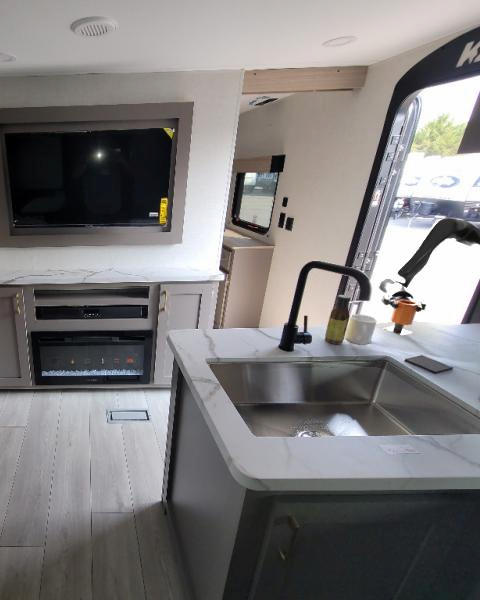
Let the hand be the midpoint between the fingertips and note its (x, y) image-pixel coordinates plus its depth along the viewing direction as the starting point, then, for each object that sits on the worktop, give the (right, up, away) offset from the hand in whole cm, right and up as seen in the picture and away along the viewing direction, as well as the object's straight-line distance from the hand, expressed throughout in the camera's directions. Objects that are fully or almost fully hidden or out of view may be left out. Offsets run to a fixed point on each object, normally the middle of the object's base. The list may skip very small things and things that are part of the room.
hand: (407, 308), depth 134 cm
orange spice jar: (+2, -6, +4) cm, 8 cm away
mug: (-21, -14, 0) cm, 26 cm away
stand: (+2, -11, +6) cm, 13 cm away
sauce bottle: (-30, -14, +1) cm, 33 cm away
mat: (-10, -20, -17) cm, 28 cm away
